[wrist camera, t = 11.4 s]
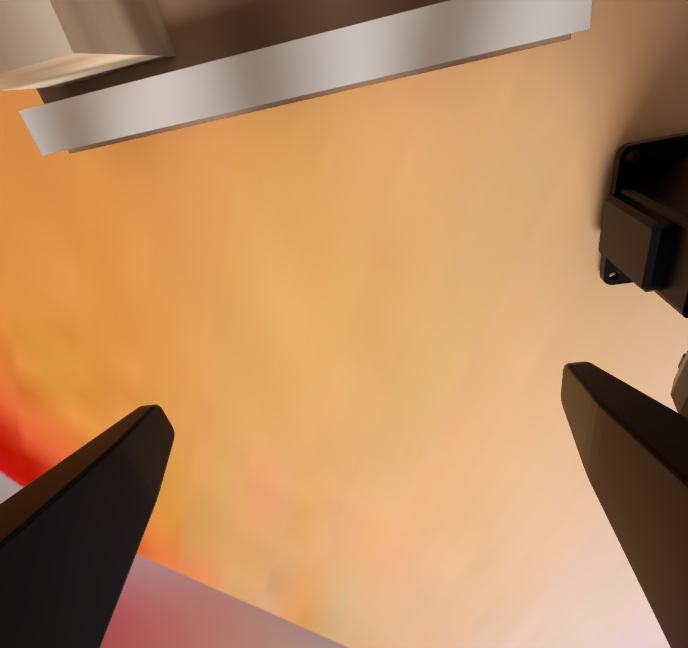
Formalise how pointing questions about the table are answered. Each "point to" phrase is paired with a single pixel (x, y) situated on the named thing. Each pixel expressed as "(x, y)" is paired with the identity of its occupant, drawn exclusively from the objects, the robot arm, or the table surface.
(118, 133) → the board
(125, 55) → the ball-top joystick
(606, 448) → the robot arm
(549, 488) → the table surface
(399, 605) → the table surface
